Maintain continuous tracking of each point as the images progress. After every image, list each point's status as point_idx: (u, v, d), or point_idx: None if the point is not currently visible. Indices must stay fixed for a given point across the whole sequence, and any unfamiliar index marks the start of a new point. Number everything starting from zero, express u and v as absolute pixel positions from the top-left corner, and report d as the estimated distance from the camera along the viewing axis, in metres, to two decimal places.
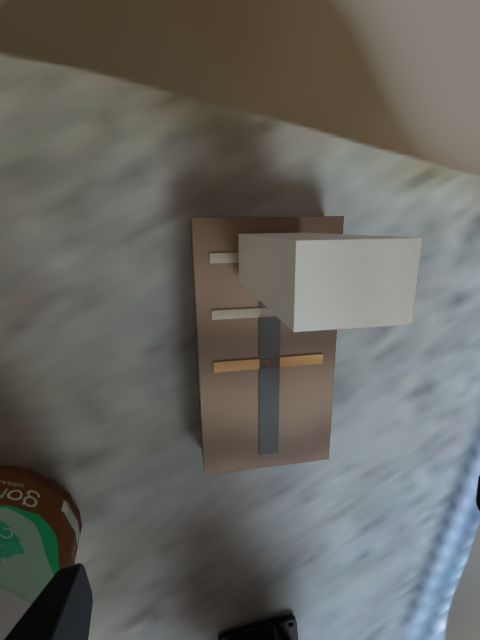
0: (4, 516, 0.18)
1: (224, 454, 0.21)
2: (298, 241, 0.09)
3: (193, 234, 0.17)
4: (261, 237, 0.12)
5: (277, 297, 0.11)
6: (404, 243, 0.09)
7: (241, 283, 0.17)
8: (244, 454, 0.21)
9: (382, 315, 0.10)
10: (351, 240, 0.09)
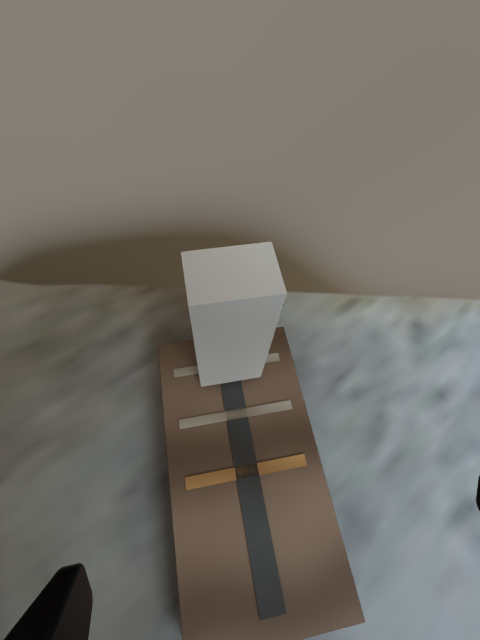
0: None
1: (211, 624, 0.15)
2: (183, 252, 0.13)
3: (159, 357, 0.21)
4: None
5: None
6: (259, 246, 0.13)
7: (200, 382, 0.19)
8: (239, 622, 0.15)
9: (259, 289, 0.12)
10: (220, 248, 0.13)
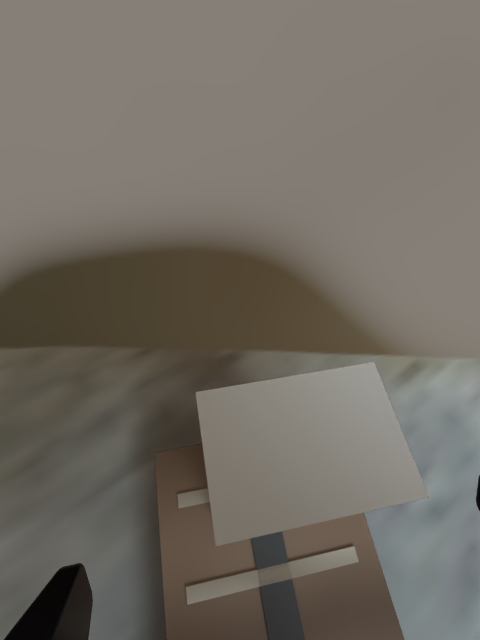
0: None
1: None
2: (200, 393, 0.06)
3: (157, 473, 0.14)
4: None
5: None
6: (352, 373, 0.07)
7: None
8: None
9: (368, 487, 0.06)
10: (274, 380, 0.06)
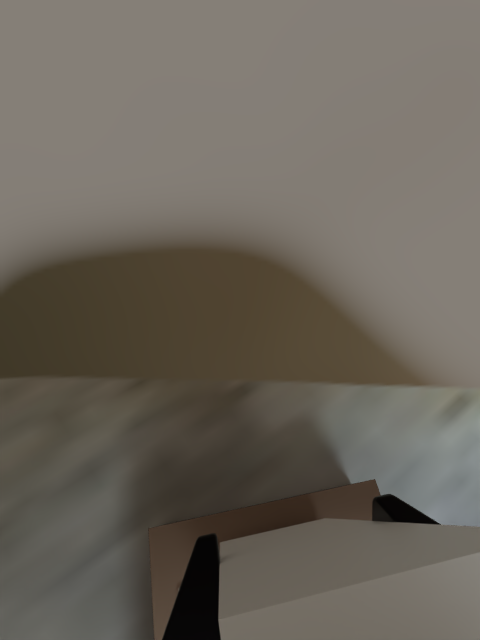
0: None
1: None
2: (227, 619, 0.03)
3: (151, 556, 0.11)
4: (220, 564, 0.06)
5: None
6: None
7: None
8: None
9: None
10: (376, 581, 0.03)
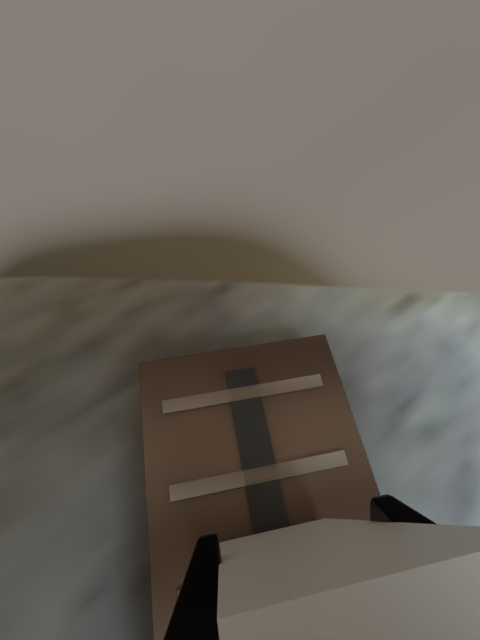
0: None
1: None
2: (226, 619, 0.03)
3: (141, 382, 0.14)
4: None
5: None
6: None
7: None
8: None
9: None
10: (375, 581, 0.03)
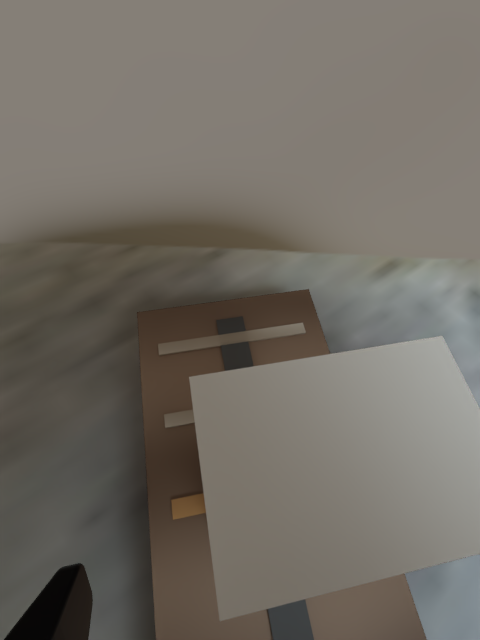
0: None
1: None
2: (195, 378, 0.04)
3: (139, 328, 0.15)
4: None
5: None
6: (413, 350, 0.05)
7: None
8: None
9: (452, 521, 0.04)
10: (303, 360, 0.04)
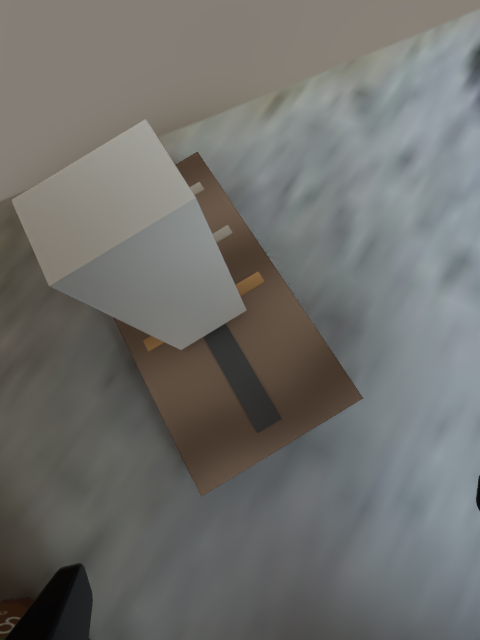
0: None
1: (212, 452, 0.15)
2: (16, 200, 0.08)
3: None
4: None
5: None
6: (128, 134, 0.08)
7: None
8: (238, 442, 0.15)
9: (149, 209, 0.07)
10: (69, 166, 0.08)
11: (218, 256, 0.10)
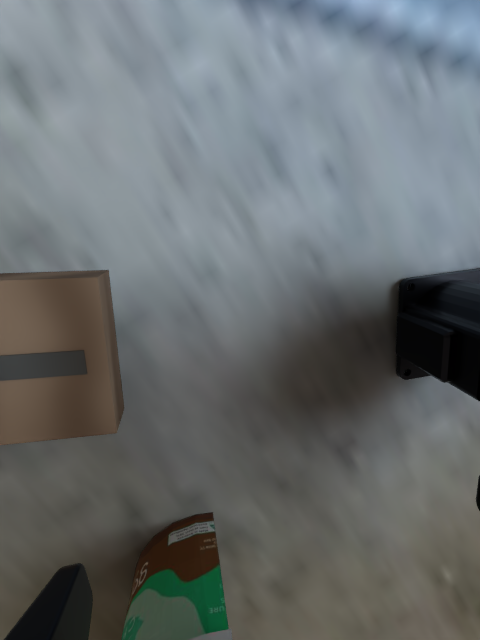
0: (133, 610, 0.19)
1: (87, 413, 0.17)
2: None
3: None
4: None
5: None
6: None
7: None
8: (87, 390, 0.17)
9: None
10: None
11: None
